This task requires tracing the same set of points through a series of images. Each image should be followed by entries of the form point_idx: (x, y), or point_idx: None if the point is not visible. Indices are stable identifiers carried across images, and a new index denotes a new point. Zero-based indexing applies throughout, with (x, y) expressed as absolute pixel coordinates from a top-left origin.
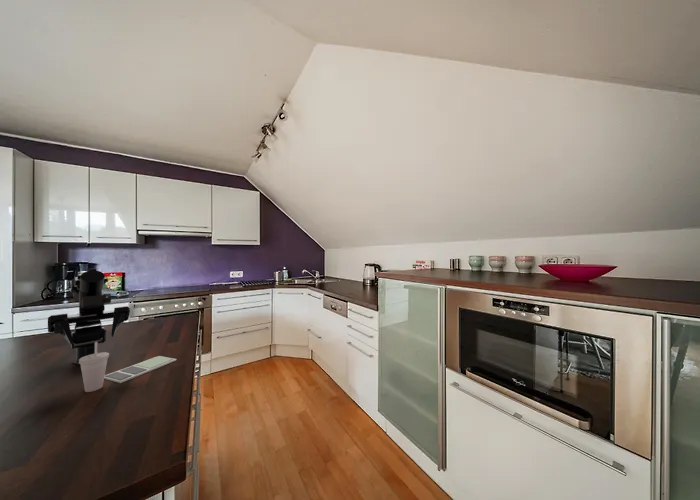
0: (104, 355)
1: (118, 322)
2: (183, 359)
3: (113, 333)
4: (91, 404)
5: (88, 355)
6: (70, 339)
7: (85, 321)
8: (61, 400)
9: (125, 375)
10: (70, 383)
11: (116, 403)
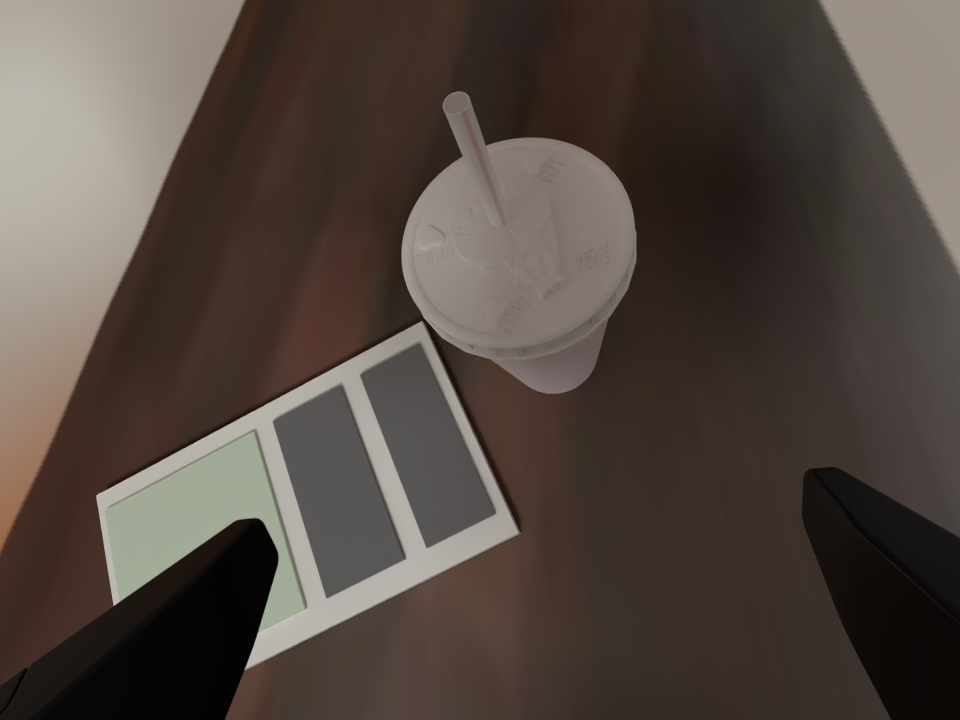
0: (437, 210)
1: None
2: (75, 481)
3: (225, 531)
4: (550, 135)
5: (565, 314)
6: (867, 504)
7: None
8: (701, 290)
9: (388, 402)
10: (716, 613)
11: (458, 81)
